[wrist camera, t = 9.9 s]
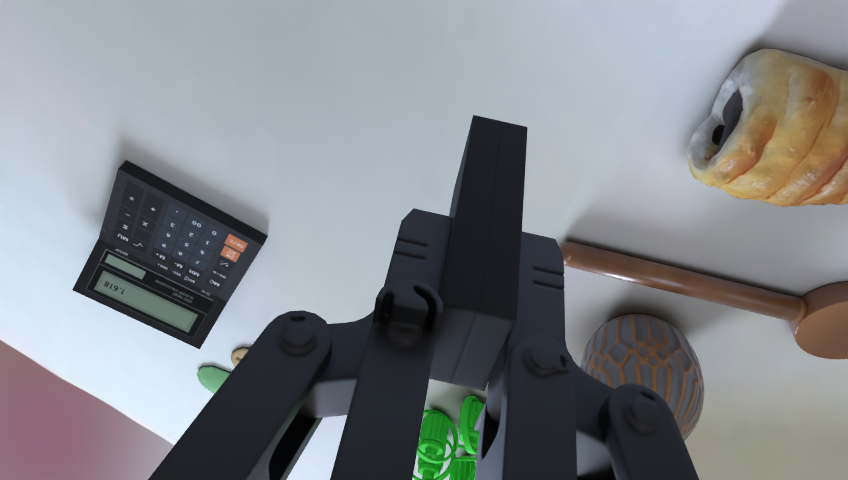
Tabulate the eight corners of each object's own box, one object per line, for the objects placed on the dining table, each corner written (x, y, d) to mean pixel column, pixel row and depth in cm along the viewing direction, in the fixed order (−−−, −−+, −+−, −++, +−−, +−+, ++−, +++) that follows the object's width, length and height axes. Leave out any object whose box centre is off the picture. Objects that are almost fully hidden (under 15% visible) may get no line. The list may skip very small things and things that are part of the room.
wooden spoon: (542, 272, 35) (542, 289, 34) (572, 209, 32) (572, 226, 31) (853, 348, 35) (862, 368, 34) (919, 294, 31) (930, 314, 30)
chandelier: (598, 477, 51) (601, 562, 46) (439, 476, 57) (427, 551, 52) (566, 380, 42) (566, 471, 37) (381, 389, 48) (359, 470, 43)
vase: (669, 285, 34) (693, 419, 28) (708, 351, 38) (737, 484, 31) (561, 315, 38) (560, 440, 31) (605, 373, 41) (613, 497, 35)
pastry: (970, 83, 24) (1023, 135, 21) (858, 205, 28) (888, 260, 26) (743, 31, 24) (766, 77, 21) (669, 161, 29) (680, 212, 26)
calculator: (267, 236, 37) (249, 269, 35) (215, 319, 45) (197, 351, 43) (126, 160, 35) (97, 191, 33) (96, 262, 42) (71, 292, 40)
